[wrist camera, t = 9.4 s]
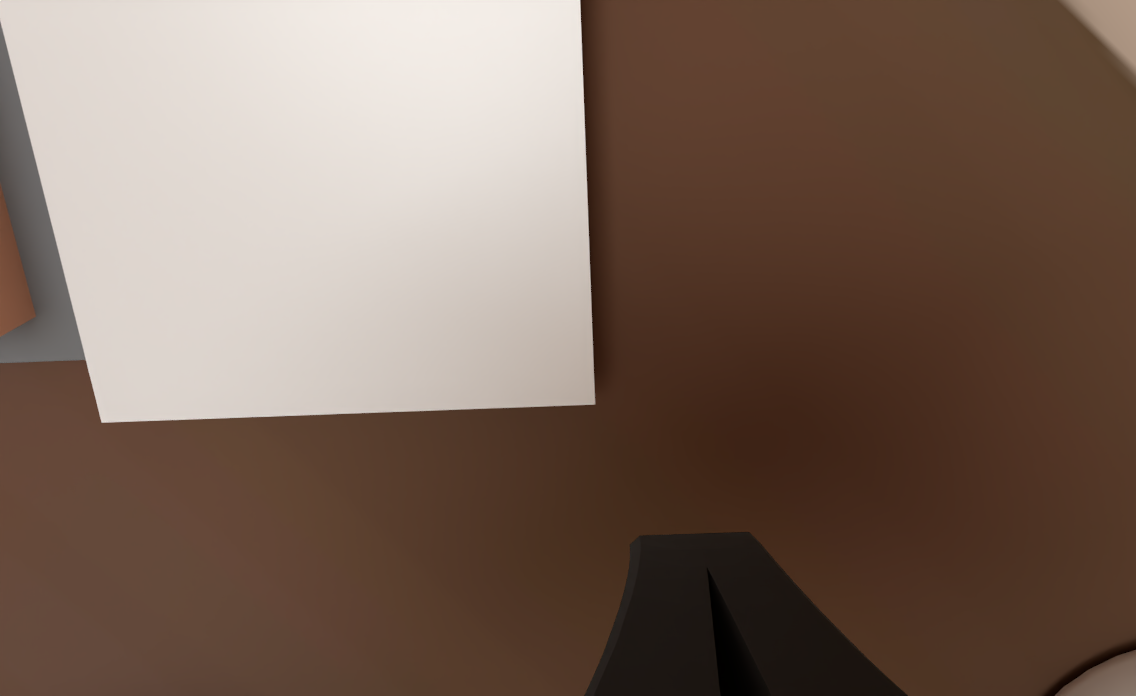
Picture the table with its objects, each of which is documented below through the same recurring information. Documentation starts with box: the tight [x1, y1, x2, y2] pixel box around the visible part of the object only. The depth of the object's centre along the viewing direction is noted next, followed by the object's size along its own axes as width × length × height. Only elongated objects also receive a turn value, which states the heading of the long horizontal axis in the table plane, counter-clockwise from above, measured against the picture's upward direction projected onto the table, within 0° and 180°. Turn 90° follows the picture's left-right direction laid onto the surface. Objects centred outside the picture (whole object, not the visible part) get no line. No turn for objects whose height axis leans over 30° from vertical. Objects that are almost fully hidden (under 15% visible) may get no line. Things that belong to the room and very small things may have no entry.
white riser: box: [0, 0, 595, 423], centre depth 17 cm, size 10×10×2 cm
